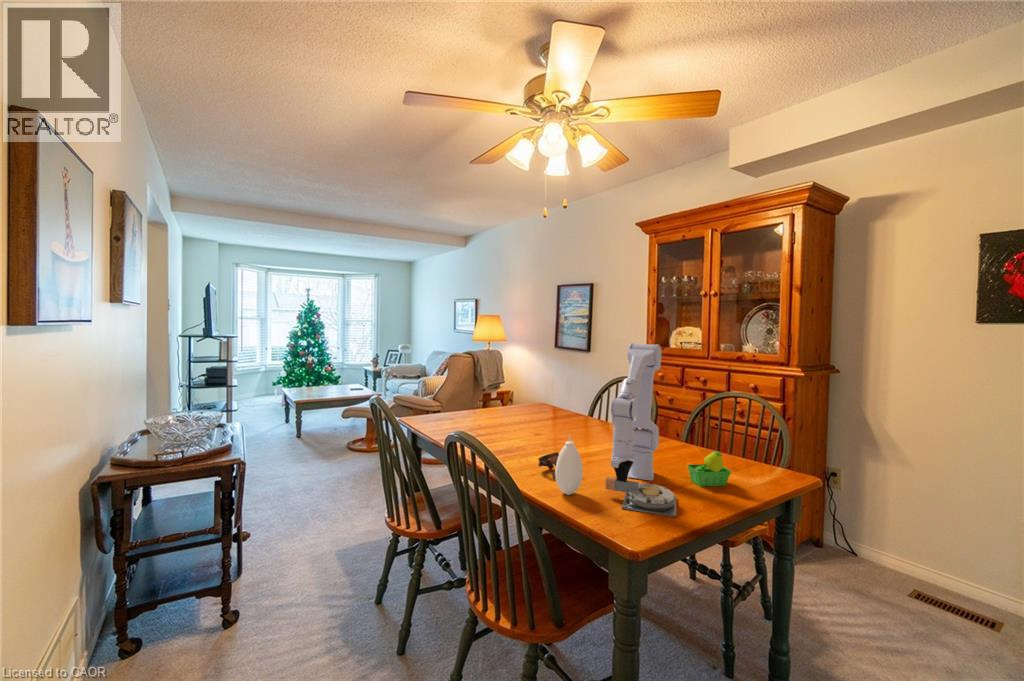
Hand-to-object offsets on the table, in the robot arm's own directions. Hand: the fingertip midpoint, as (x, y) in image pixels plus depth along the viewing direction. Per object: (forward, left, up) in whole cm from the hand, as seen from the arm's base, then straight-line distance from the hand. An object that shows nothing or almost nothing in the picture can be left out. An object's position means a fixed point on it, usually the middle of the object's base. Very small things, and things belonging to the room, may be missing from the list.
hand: (621, 485), depth 133 cm
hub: (+2, +8, -3) cm, 9 cm away
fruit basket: (-22, +25, -4) cm, 34 cm away
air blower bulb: (+4, -15, -4) cm, 16 cm away
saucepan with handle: (+3, +6, -1) cm, 6 cm away
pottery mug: (-12, -23, -4) cm, 26 cm away
